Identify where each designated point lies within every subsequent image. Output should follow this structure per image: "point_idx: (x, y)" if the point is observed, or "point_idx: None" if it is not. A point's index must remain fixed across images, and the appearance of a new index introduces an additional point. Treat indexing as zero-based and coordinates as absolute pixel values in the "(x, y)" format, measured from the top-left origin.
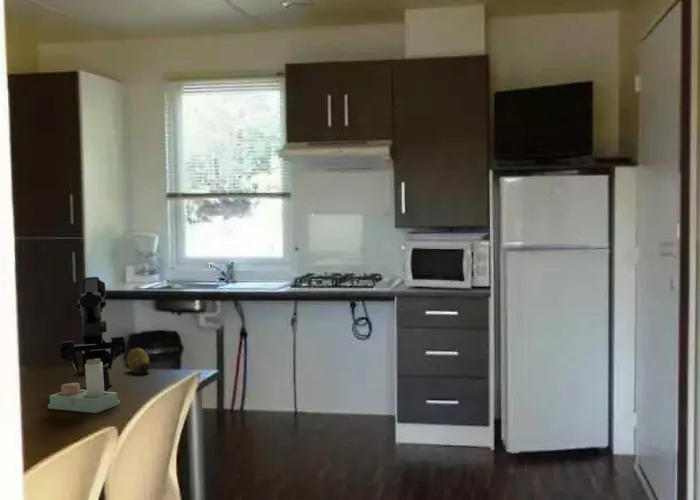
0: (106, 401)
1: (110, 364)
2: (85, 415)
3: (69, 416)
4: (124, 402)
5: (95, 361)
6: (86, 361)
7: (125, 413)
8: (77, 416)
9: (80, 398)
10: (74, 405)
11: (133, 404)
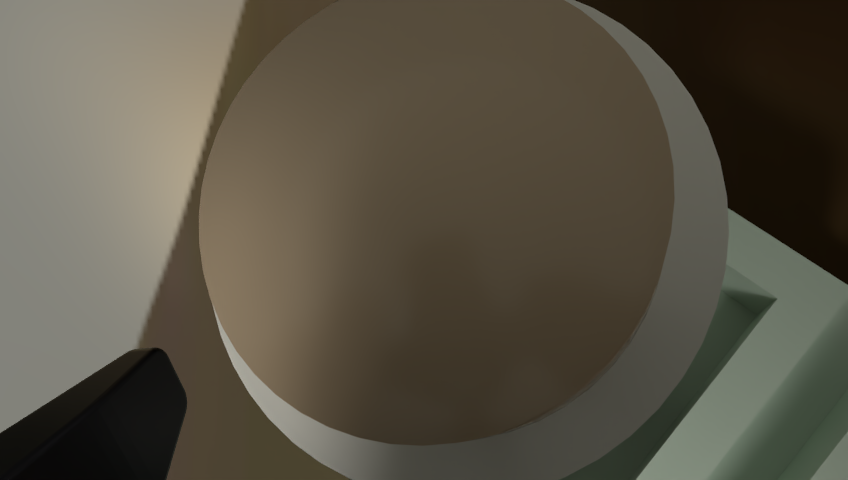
0: None
1: (88, 392)
2: None
3: (815, 50)
4: (281, 451)
5: (348, 10)
6: (652, 103)
7: (279, 8)
8: (720, 26)
9: (743, 220)
10: (835, 343)
11: (204, 317)
